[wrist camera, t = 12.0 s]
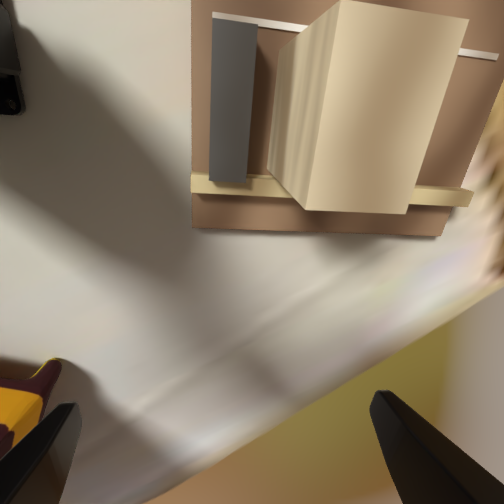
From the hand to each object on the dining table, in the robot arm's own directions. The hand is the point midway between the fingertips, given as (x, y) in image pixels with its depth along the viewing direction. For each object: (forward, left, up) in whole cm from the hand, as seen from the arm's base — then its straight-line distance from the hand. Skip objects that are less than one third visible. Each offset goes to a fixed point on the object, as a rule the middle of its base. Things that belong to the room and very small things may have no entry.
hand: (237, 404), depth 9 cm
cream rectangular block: (+4, +8, -12) cm, 15 cm away
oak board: (+7, +8, -13) cm, 17 cm away
